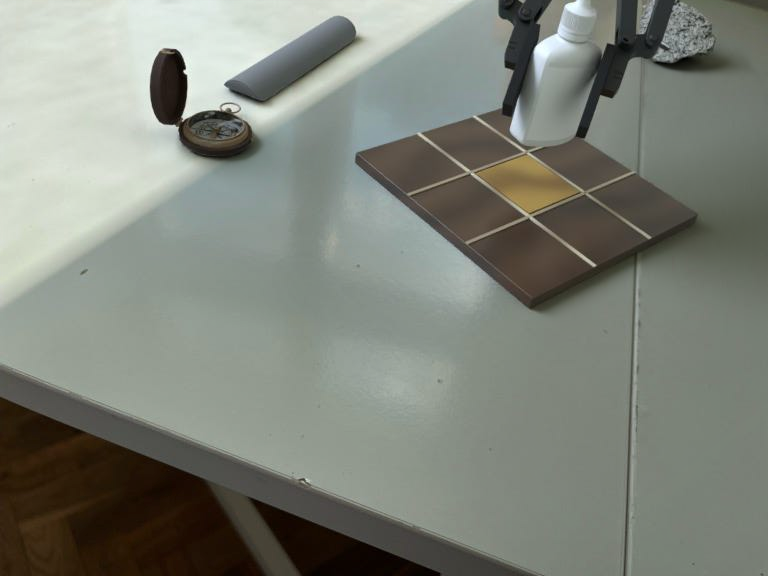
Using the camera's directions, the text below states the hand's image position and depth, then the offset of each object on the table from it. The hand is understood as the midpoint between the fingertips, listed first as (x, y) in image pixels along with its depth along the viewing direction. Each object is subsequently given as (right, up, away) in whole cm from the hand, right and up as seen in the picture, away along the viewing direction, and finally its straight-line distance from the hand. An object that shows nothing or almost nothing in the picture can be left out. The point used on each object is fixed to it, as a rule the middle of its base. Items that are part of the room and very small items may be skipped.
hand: (544, 120), depth 59 cm
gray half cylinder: (-21, +10, +21) cm, 31 cm away
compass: (-27, +1, +9) cm, 29 cm away
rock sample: (+22, +15, +35) cm, 44 cm away
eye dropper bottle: (+1, 0, +5) cm, 5 cm away
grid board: (0, -4, +9) cm, 10 cm away
